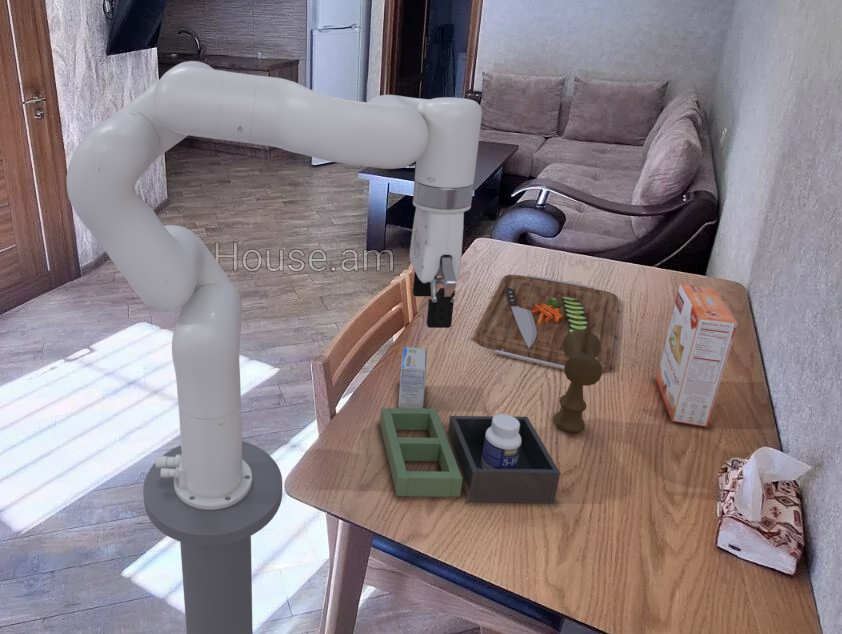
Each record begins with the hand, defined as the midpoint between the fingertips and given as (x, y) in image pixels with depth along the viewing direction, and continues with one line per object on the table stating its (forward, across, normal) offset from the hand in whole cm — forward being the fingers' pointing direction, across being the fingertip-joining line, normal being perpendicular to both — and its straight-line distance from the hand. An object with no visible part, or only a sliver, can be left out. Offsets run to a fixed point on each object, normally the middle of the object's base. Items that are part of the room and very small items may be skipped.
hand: (430, 310), depth 92 cm
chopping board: (+28, -52, +41) cm, 72 cm away
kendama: (+28, -12, +29) cm, 42 cm away
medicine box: (+28, -20, +3) cm, 35 cm away
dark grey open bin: (+28, 0, +13) cm, 31 cm away
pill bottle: (+28, 0, +13) cm, 31 cm away
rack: (+28, -3, +1) cm, 28 cm away
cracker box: (+28, -19, +52) cm, 62 cm away
